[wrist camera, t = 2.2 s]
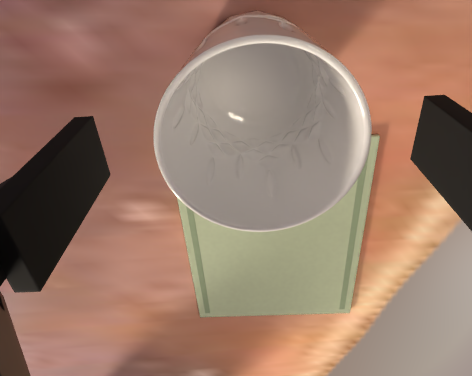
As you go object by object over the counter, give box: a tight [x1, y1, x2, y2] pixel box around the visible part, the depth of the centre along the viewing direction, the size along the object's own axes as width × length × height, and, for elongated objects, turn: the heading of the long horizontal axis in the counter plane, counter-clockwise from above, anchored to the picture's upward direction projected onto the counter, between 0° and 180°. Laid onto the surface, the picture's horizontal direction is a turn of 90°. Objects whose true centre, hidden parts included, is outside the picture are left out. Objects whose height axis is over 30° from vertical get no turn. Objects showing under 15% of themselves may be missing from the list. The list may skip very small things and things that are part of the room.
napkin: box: [177, 134, 380, 317], centre depth 29 cm, size 18×14×1 cm
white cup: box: [154, 11, 372, 232], centre depth 17 cm, size 8×8×10 cm
